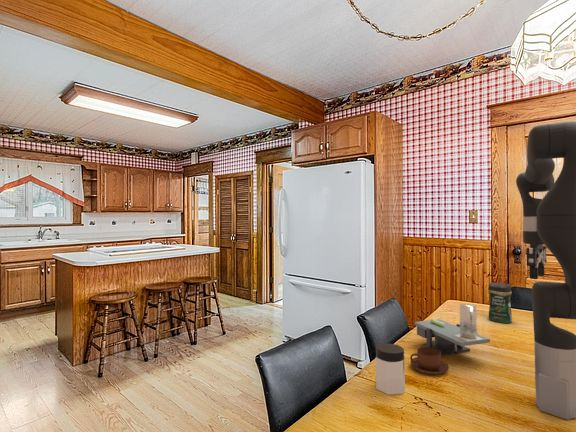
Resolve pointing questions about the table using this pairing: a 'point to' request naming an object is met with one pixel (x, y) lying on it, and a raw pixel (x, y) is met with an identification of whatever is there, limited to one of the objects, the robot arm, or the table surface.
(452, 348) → the pivot stand
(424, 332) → the platform
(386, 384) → the jar
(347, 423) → the table surface
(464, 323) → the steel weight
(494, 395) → the table surface
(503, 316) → the coffee jar
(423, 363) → the cup and saucer
